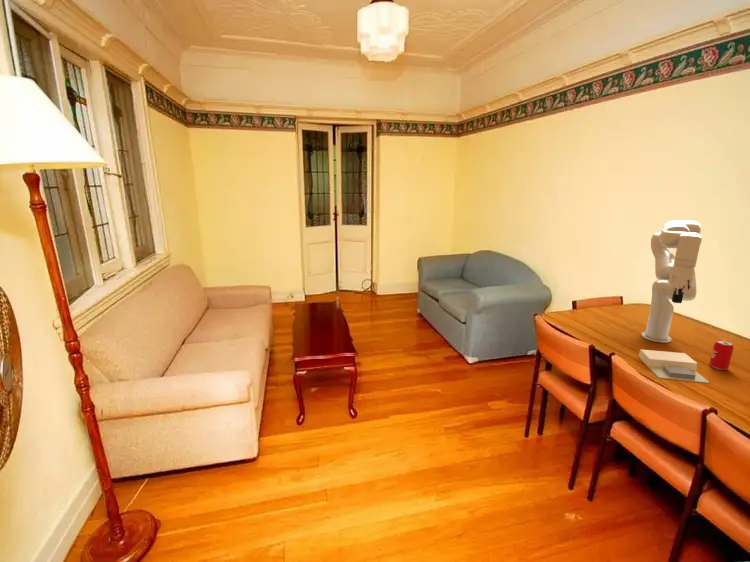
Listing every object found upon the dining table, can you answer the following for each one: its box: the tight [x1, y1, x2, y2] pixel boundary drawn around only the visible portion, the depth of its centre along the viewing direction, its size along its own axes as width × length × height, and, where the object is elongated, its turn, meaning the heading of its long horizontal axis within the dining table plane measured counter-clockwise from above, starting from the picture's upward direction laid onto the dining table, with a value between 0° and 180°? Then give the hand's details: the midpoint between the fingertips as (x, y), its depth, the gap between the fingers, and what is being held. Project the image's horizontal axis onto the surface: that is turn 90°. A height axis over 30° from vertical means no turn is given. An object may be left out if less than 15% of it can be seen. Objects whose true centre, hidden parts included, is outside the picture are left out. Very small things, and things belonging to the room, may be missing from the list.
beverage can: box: [709, 339, 734, 371], centre depth 163 cm, size 6×6×12 cm
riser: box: [638, 349, 698, 372], centre depth 167 cm, size 10×18×4 cm, turn 76°
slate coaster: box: [663, 366, 696, 379], centre depth 157 cm, size 6×9×2 cm, turn 75°
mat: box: [647, 366, 710, 384], centre depth 158 cm, size 10×18×1 cm, turn 76°
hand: (676, 302), depth 167 cm, fingers closed
